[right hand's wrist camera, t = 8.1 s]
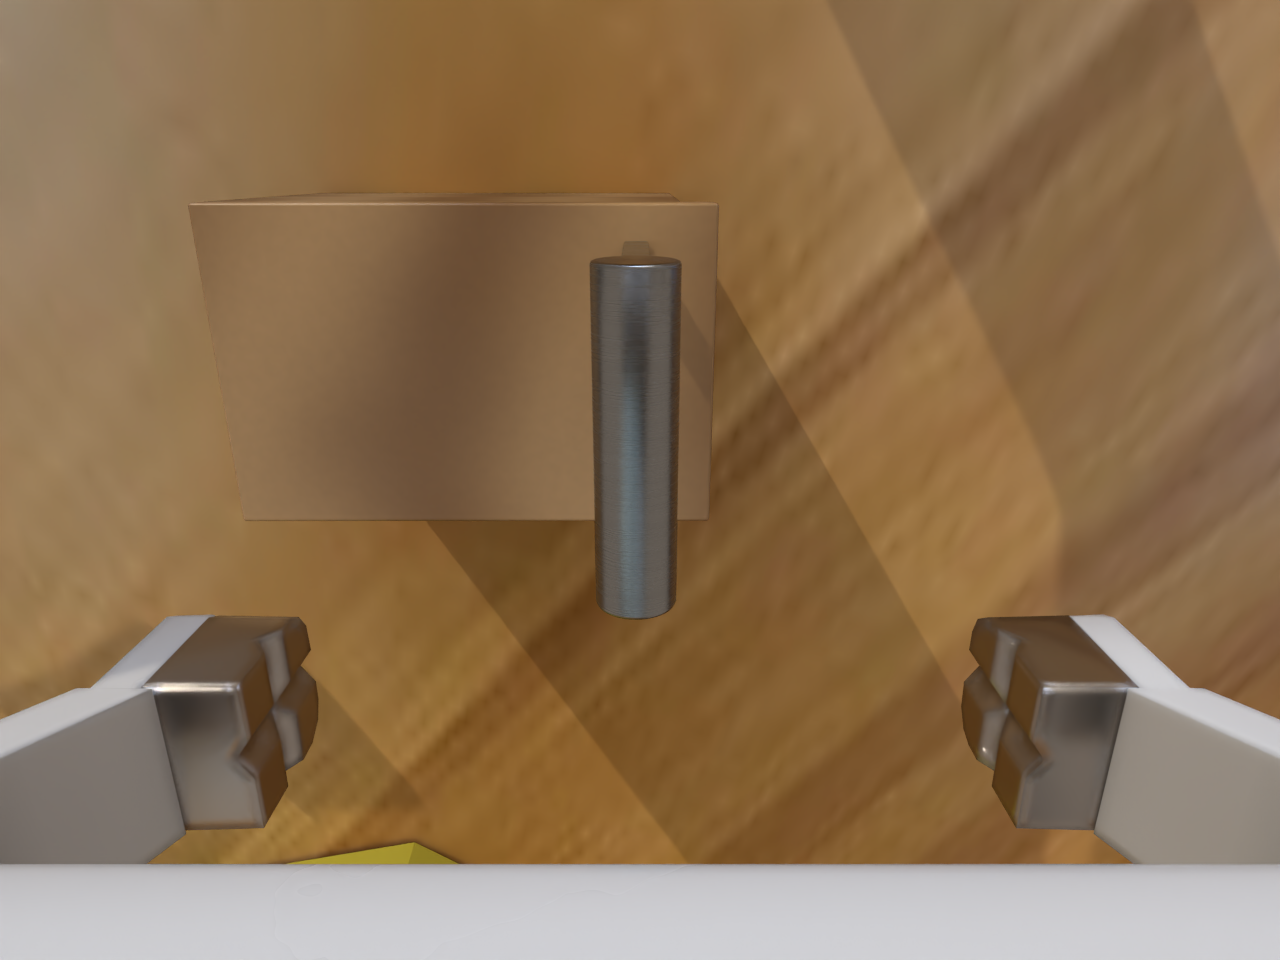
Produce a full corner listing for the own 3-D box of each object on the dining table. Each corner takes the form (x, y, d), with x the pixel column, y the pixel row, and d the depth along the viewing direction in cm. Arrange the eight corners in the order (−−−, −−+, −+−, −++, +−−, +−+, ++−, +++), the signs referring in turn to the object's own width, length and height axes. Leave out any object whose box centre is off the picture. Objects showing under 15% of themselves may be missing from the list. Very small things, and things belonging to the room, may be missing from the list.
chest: (669, 193, 33) (681, 201, 24) (667, 425, 37) (676, 508, 28) (322, 192, 33) (205, 201, 24) (351, 425, 37) (257, 509, 28)
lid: (716, 202, 24) (756, 217, 16) (706, 509, 28) (736, 654, 19) (204, 201, 24) (-21, 217, 16) (256, 509, 28) (94, 655, 19)
